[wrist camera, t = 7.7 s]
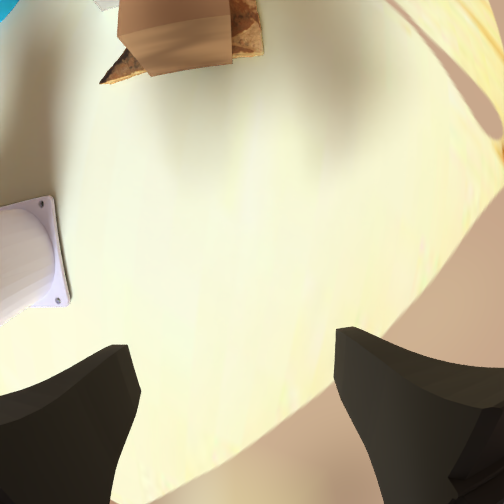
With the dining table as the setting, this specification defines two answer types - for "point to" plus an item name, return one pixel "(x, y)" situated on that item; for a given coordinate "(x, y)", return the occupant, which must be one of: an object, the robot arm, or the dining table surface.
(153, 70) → the walnut block
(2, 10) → the mug
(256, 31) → the shard
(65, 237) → the dining table surface
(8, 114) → the dining table surface
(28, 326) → the dining table surface
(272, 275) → the dining table surface
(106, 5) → the light-grey block
